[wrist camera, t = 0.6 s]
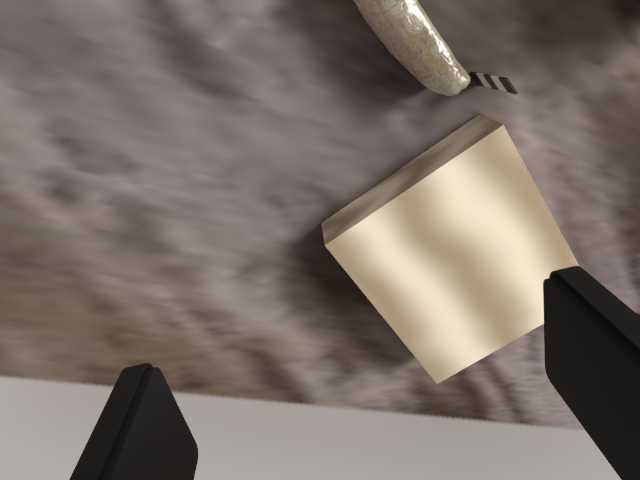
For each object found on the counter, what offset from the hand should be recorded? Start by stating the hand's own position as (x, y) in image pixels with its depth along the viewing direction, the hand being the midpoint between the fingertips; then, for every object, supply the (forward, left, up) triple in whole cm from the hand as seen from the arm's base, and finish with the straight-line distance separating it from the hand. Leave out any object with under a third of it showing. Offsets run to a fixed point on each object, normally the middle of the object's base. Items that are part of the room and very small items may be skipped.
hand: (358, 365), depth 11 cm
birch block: (-4, +14, -24) cm, 28 cm away
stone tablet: (-9, -2, -25) cm, 26 cm away
